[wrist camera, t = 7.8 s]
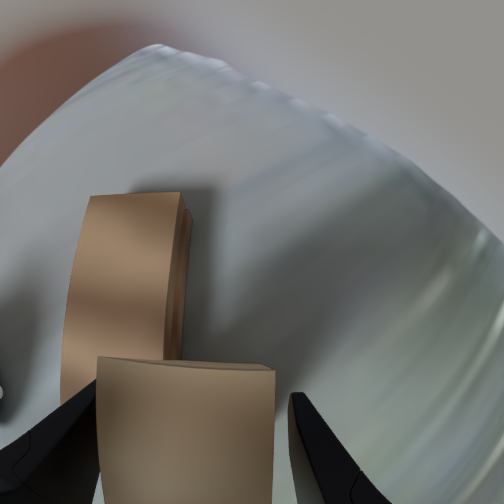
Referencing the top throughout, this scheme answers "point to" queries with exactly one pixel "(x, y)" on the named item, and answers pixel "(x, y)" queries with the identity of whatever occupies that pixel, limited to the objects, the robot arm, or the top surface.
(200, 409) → the upright offcut
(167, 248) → the plank stack
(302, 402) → the robot arm
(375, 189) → the top surface
